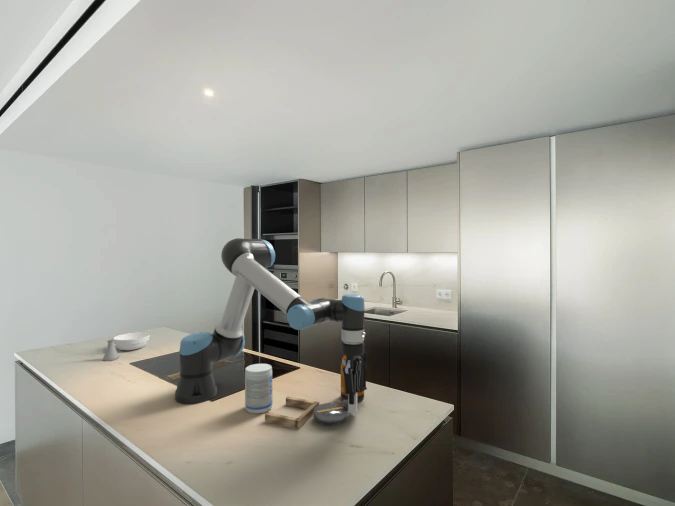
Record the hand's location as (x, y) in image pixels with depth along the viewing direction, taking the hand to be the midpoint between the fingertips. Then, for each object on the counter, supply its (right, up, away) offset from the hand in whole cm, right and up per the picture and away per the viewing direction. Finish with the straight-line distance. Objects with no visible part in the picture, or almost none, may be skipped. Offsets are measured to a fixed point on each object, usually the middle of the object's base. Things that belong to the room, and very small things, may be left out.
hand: (352, 412), depth 116 cm
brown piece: (-21, -3, +4) cm, 22 cm away
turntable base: (-7, -3, 0) cm, 8 cm away
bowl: (-124, -3, +86) cm, 151 cm away
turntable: (-6, -1, +1) cm, 6 cm away
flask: (-123, -3, +66) cm, 140 cm away
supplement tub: (-33, -3, +8) cm, 34 cm away
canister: (+1, -3, +17) cm, 17 cm away
